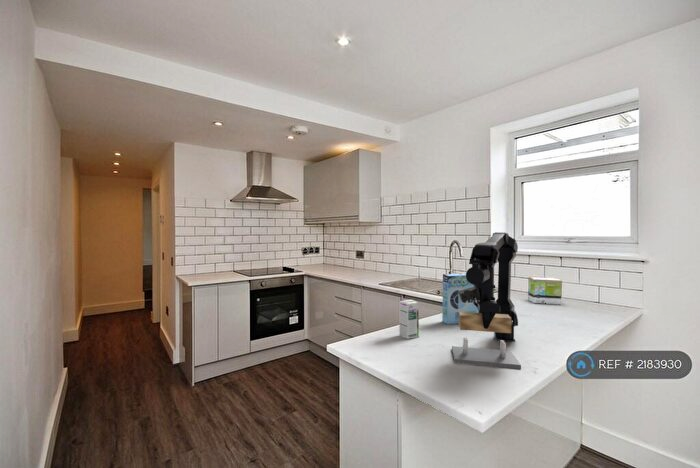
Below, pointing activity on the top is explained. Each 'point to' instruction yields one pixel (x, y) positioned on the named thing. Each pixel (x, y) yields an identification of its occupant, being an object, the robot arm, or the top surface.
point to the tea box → (544, 290)
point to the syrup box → (409, 319)
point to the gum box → (455, 298)
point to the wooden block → (476, 323)
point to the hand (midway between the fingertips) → (484, 326)
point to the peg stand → (485, 356)
